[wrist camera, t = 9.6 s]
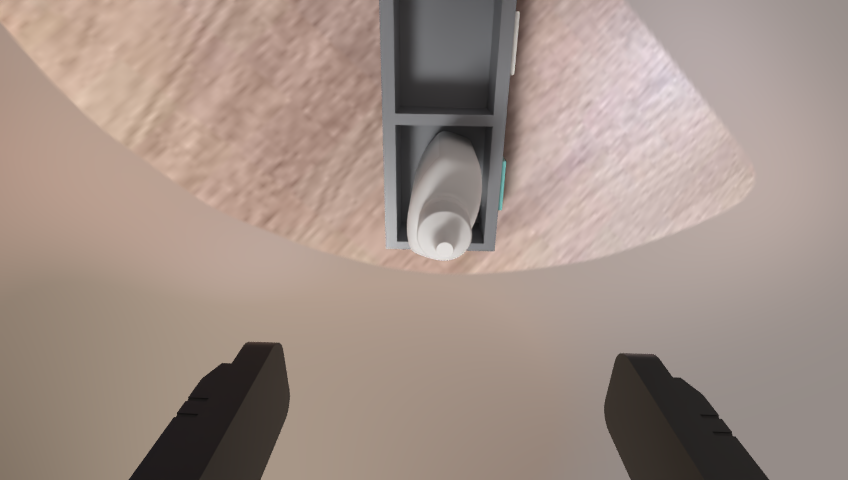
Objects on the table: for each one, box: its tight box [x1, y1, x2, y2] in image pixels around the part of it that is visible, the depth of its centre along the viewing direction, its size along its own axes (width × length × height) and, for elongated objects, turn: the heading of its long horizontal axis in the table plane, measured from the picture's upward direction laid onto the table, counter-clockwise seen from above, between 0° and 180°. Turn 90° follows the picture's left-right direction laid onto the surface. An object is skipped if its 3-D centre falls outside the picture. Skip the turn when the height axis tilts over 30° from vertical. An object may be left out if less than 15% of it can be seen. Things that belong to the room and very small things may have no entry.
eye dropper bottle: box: [407, 131, 482, 261], centre depth 22 cm, size 4×6×12 cm
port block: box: [379, 0, 520, 251], centre depth 25 cm, size 16×7×5 cm, turn 179°
